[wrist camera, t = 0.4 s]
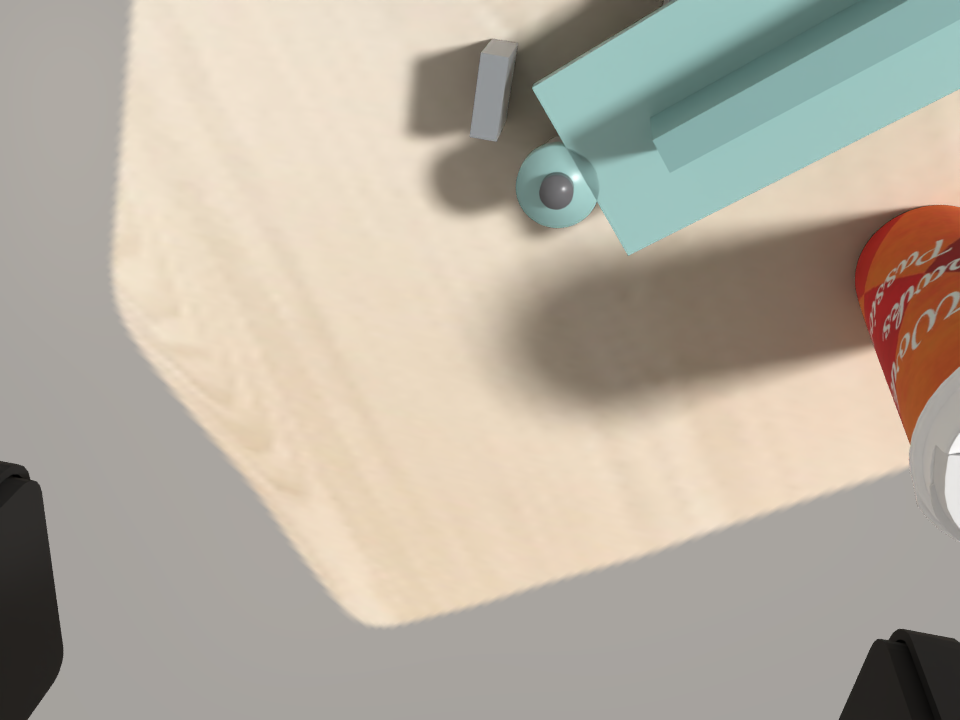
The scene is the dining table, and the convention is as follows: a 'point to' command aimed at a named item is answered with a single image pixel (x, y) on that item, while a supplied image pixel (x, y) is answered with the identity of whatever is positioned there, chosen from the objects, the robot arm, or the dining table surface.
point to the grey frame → (495, 89)
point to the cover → (727, 104)
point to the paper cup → (920, 345)
